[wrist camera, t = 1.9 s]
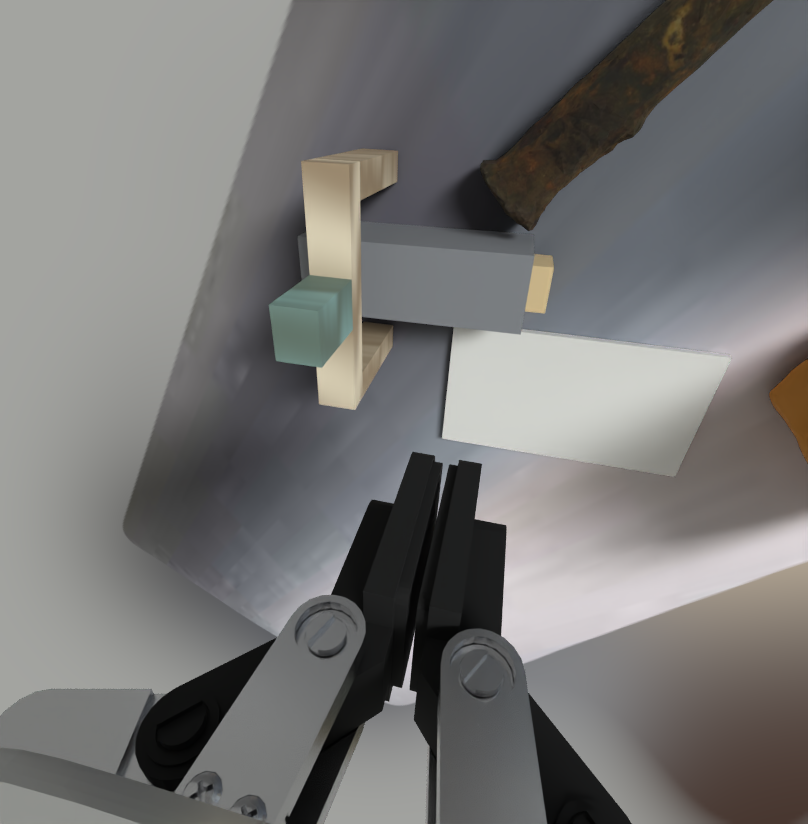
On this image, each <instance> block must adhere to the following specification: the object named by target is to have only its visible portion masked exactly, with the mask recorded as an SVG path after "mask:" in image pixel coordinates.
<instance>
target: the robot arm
mask: <svg viewBox="0 0 808 824" xmlns="http://www.w3.org/2000/svg"><path fill="white" fill-rule="evenodd" d="M442 466H443V463H439V462H435V456H434V455H428V454H422V453H416V452H412V454H411V457H410V460H409V462H408V465H407V468H406V471H405V474H404V477H403V479H402V482H401V485H400V488H399V491H398V494H397V497H396V499H395V502H394V504H392V503H387V502H382V501H377V500H372V501H371V502H370V503H369V505H368V507H367V510H366V512H365V515H364V517H363V519H362V522H361V524H360V527H359V529H358V531H357V534H356V536H355V539H354V541H353V543H352V546H351V548H350V551H349V553H348V555H347V558H346V560H345V563H344V565H343V567H342V570H341V572H340V575H339V577H338V579H337V582H336V584H335V587H334V589H333V591H332V594H331V595H322V596H319V597H316V598H313V599H310V600H308V601H307V602H305V603H304V604H302V605H301V606H300V607H299V608H298V609H297V610H296V611H295V612H294V613H293V615H292V616H291V617H290V619H289V620H288V622H287V623H286V625H285V626H284V628H283V630H282V631H281V633H280V634H279V636H278V637H277V638H275V639H273V640H271V641H269V642H267V643H265V644H263V645H261V646H259V647H257V648H255V649H253V650H251V651H249V652H247V653H245V654H243V655H241V656H239V657H237V658H235V659H233V660H231V661H229V662H227V663H225V664H223V665H221V666H219V667H217V668H215V669H213V670H211V671H209V672H207V673H205V674H203V675H201V676H199V677H197V678H195V679H193V680H191V681H189V682H187V683H185V684H183V685H181V686H179V687H177V688H175V689H173V690H172V691H171V692H169V693H167V694H154V693H153V691H152V689H48V690H42V691H37V692H34V693H32V694H30V695H28V696H26V697H24V698H22V699H20V700H18V701H17V702H16V703H14V704H13V705H12V706H11V707H9V708H8V709H7V710H5V711H4V712H3V713H2V715H1V716H0V824H324V822H325V819H326V817H327V815H328V812H329V810H330V808H331V805H332V803H333V800H334V798H335V796H336V793H337V791H338V789H339V786H340V784H341V781H342V779H343V777H344V774H345V772H346V769H347V767H348V764H349V762H350V760H351V757H352V755H353V753H354V750H355V748H356V745H357V743H358V741H359V738H360V736H361V733H362V731H363V728H364V725H365V722H366V721H367V720H369V719H370V718H372V717H374V716H375V715H377V714H378V713H380V712H381V711H382V710H383V706H384V702H385V701H389V699H390V695H391V691H392V687H393V686H396V687H400V688H402V685H403V681H404V677H405V673H406V668H407V664H408V659H409V655H410V650H411V646H412V641H413V637H414V632H415V637H414V648H413V659H412V669H411V680H410V690H412V691H415V692H417V696H416V705H415V715H414V721H415V722H416V724H417V726H418V728H419V729H420V731H421V733H422V734H423V736H424V738H425V740H426V741H427V743H428V755H427V757H428V758H427V791H426V792H427V793H426V824H631V822H630V820H629V819H628V817H627V816H626V814H625V813H624V812H623V811H622V809H621V808H620V807H619V806H618V804H617V803H616V802H615V801H614V799H613V798H612V797H611V796H610V794H609V793H608V792H607V791H606V789H605V788H604V787H603V786H602V785H601V783H600V782H599V781H598V779H597V778H596V777H595V776H594V774H593V773H592V772H591V771H590V769H589V768H588V767H587V766H586V765H585V763H584V762H583V761H582V759H581V758H580V757H579V756H578V754H577V753H576V752H575V751H574V749H573V748H572V747H571V746H570V744H569V743H568V742H567V741H566V739H565V738H564V737H563V736H562V734H561V733H560V732H559V731H558V729H557V728H556V727H555V726H554V724H553V723H552V722H551V721H550V719H549V718H548V717H547V716H546V714H545V713H544V712H543V711H542V709H541V708H540V707H539V706H538V705H537V703H536V702H535V701H534V699H533V698H532V697H531V696H530V694H529V693H528V689H527V682H526V675H525V670H524V667H523V663H522V660H521V658H520V656H519V655H518V653H517V651H516V650H515V648H514V647H513V646H512V645H511V644H510V643H509V642H508V641H507V640H506V639H505V638H503V637H502V636H501V626H502V607H503V588H504V568H505V549H506V525H501V524H496V523H491V522H486V521H481V520H475V511H476V504H477V497H478V489H479V482H480V474H481V467H482V464H480V463H474V462H468V461H463V460H459V464H458V466H456V465H449V468H448V473H447V477H446V481H445V486H444V490H443V494H442V499H441V503H440V507H439V512H438V516H437V511H438V502H439V493H440V484H441V475H442Z"/></svg>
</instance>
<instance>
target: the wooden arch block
mask: <svg viewBox="0 0 808 824" xmlns="http://www.w3.org/2000/svg"><path fill="white" fill-rule="evenodd" d="M301 165H302V178H303V192H304V205H305V219H306V232H307V246H308V259H309V273H310V275H309V276H308V277H306V278H305V279H303V280H302V281H301V282H299V283H298V284H297V285H295V286H294V287H293V288H291V289H290V290H288V291H287V292H286V293H284V294H283V295H282V296H280V297H279V298H277V299H276V300H275V301H273V302H272V303H271V304H269V311H270V318H271V326H272V334H273V342H274V350H275V357H276V361H279V362H286V363H293V364H300V365H307V366H313V367H317V381H318V394H319V404H321V405H328V406H334V407H340V408H346V409H352V410H355V409H356V407H357V405H358V404H359V402H360V400H361V399H362V397H363V395H364V394H365V392H366V390H367V389H368V387H369V385H370V383H371V382H372V380H373V378H374V377H375V375H376V373H377V372H378V370H379V368H380V367H381V365H382V363H383V361H384V360H385V358H386V356H387V355H388V353H389V351H390V350H391V348H392V346H393V325H387V324H380V323H372V322H363V323H362V299H361V218H360V201H361V200H362V199H364V198H366V197H368V196H370V195H372V194H374V193H376V192H378V191H380V190H382V189H384V188H386V187H388V186H390V185H392V184H394V183H396V182H397V168H398V151H392V150H376V149H358V150H353V151H349V152H344V153H339V154H334V155H329V156H324V157H319V158H315V159H310V160H305V161H301Z"/></svg>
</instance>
